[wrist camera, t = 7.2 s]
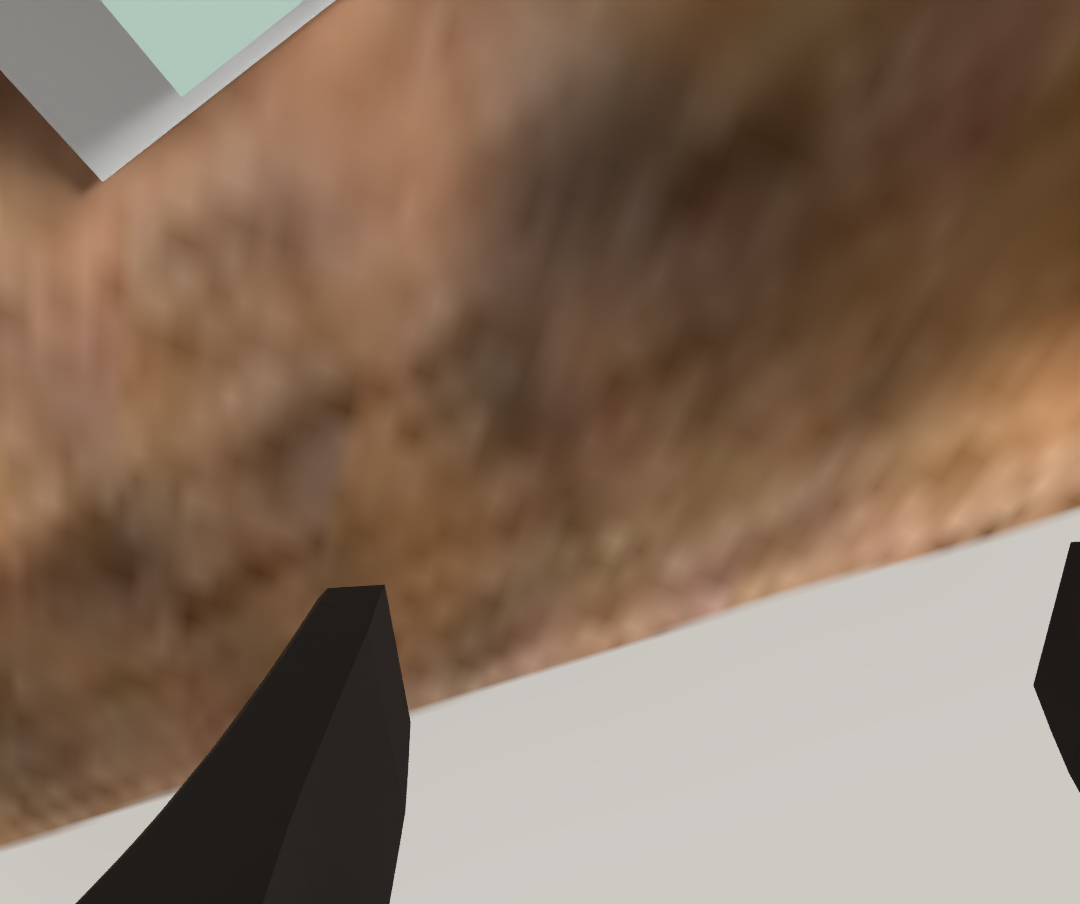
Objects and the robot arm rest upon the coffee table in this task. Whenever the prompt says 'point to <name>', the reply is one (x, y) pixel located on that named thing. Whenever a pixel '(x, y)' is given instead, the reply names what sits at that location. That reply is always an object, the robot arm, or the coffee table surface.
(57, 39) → the dock
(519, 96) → the coffee table surface
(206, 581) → the coffee table surface
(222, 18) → the pale green block
